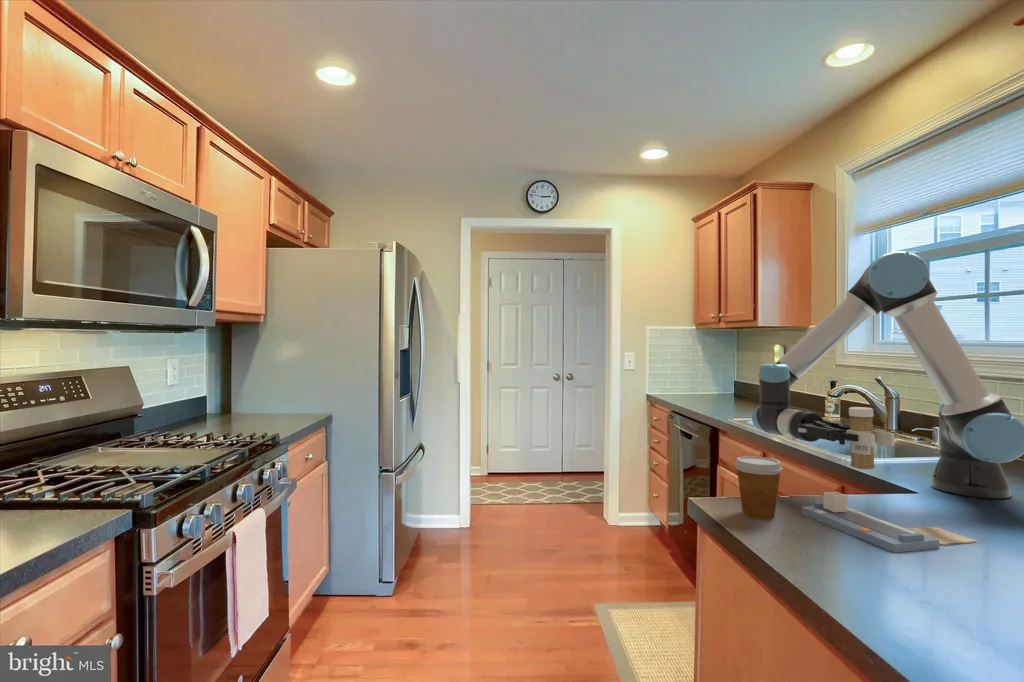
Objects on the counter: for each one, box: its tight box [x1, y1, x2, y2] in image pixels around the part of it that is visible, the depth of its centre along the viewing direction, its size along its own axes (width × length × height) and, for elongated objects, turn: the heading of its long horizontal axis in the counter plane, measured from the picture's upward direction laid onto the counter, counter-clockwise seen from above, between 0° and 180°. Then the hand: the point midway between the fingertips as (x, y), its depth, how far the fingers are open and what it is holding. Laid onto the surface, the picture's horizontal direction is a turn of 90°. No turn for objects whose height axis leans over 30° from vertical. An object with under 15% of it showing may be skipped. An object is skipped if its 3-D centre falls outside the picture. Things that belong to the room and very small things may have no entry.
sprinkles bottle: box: [848, 406, 876, 470], centre depth 114 cm, size 5×5×13 cm
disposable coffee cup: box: [734, 456, 783, 520], centre depth 112 cm, size 10×10×12 cm
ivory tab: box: [822, 491, 849, 512], centre depth 110 cm, size 3×3×4 cm
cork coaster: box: [908, 526, 978, 546], centre depth 99 cm, size 8×8×1 cm
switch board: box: [800, 501, 940, 553], centre depth 103 cm, size 10×22×2 cm, turn 11°
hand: (883, 440), depth 109 cm, fingers closed on sprinkles bottle, 4 cm apart
